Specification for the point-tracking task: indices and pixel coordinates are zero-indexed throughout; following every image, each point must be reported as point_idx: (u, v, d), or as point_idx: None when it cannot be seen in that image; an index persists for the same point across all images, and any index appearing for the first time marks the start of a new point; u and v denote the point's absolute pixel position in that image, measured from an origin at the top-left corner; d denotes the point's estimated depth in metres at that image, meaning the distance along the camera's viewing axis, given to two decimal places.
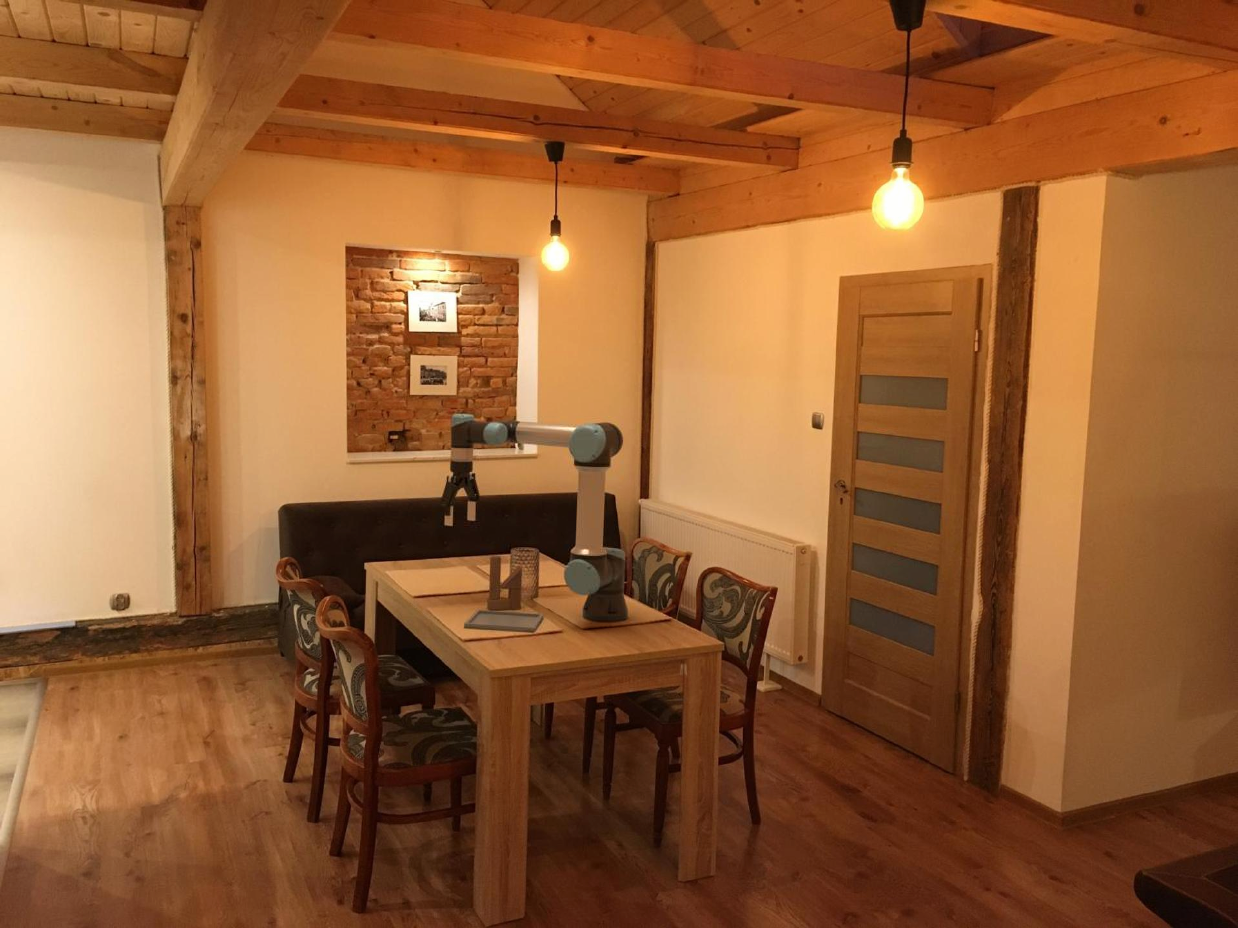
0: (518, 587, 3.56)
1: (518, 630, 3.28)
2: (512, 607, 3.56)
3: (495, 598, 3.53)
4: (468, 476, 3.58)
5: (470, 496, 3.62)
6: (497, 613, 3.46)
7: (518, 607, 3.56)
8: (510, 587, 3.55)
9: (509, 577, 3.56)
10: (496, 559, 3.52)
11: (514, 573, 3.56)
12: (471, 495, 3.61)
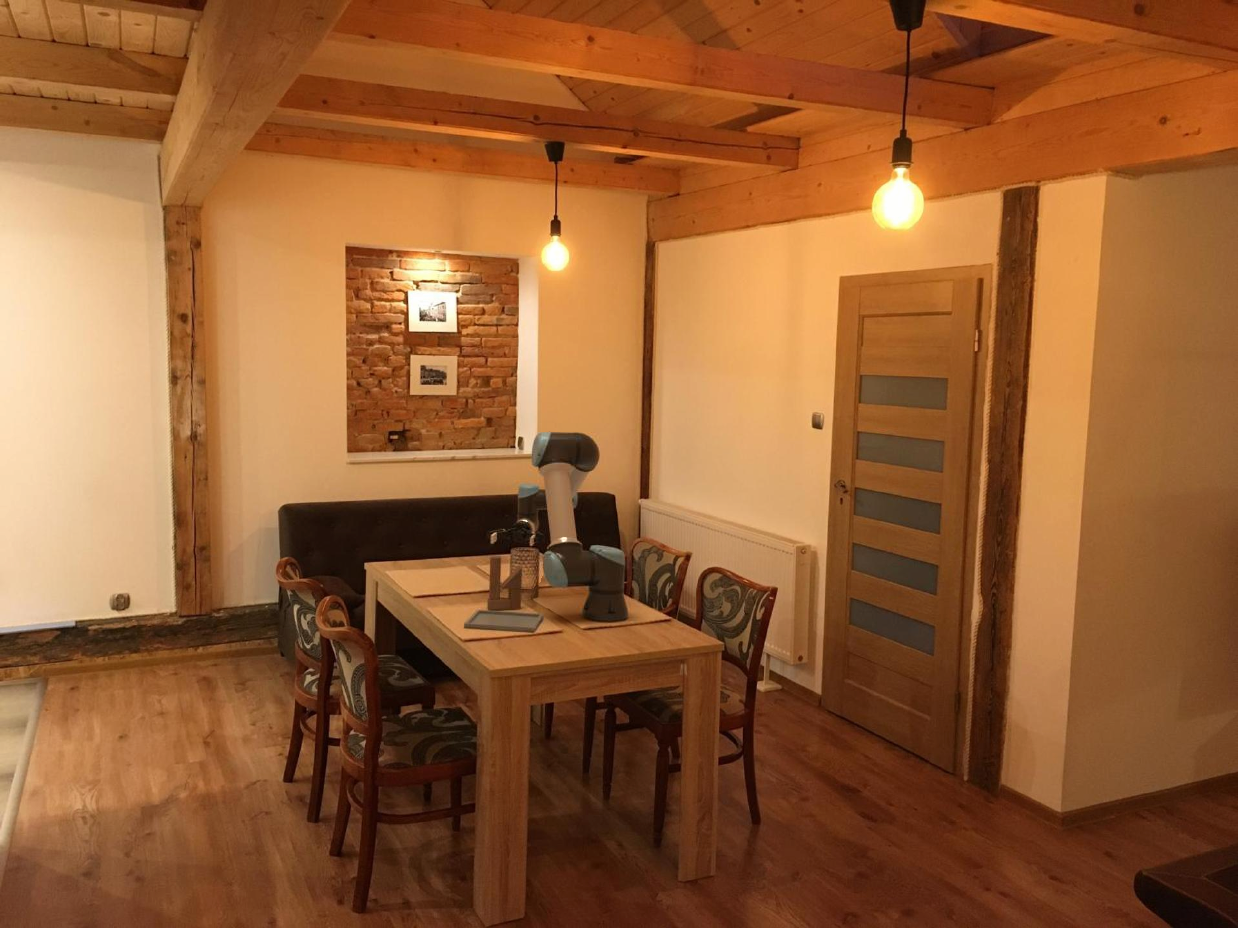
0: (518, 587, 3.56)
1: (518, 630, 3.28)
2: (512, 607, 3.56)
3: (495, 598, 3.53)
4: None
5: (532, 537, 3.72)
6: (497, 613, 3.46)
7: (518, 607, 3.56)
8: (510, 587, 3.55)
9: (509, 577, 3.56)
10: (496, 559, 3.52)
11: (514, 573, 3.56)
12: (532, 535, 3.72)
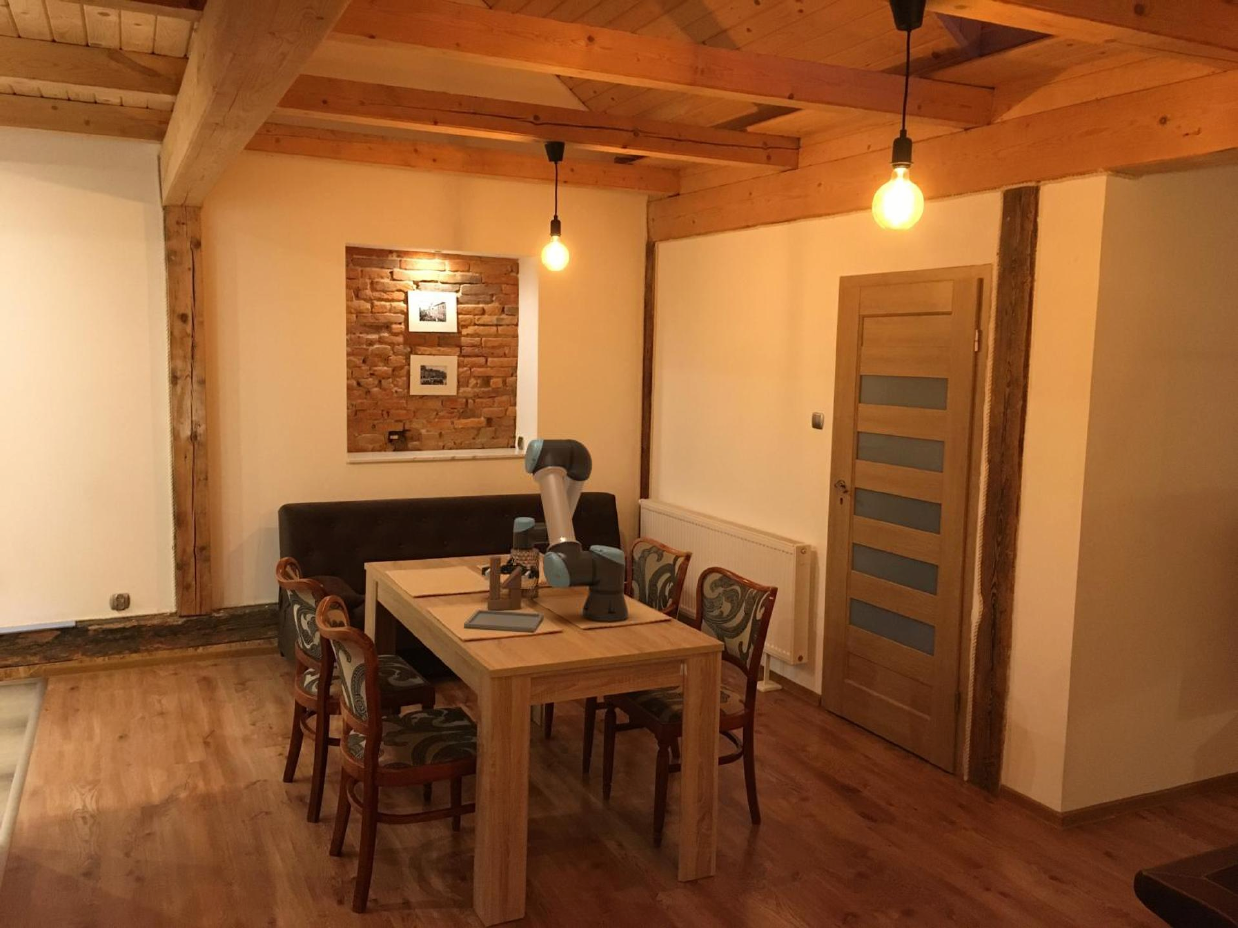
0: (518, 587, 3.56)
1: (518, 630, 3.28)
2: (512, 607, 3.56)
3: (495, 598, 3.53)
4: None
5: (527, 573, 3.67)
6: (497, 613, 3.46)
7: (518, 607, 3.56)
8: (510, 587, 3.55)
9: (509, 577, 3.56)
10: (496, 559, 3.52)
11: (514, 573, 3.56)
12: (527, 571, 3.67)
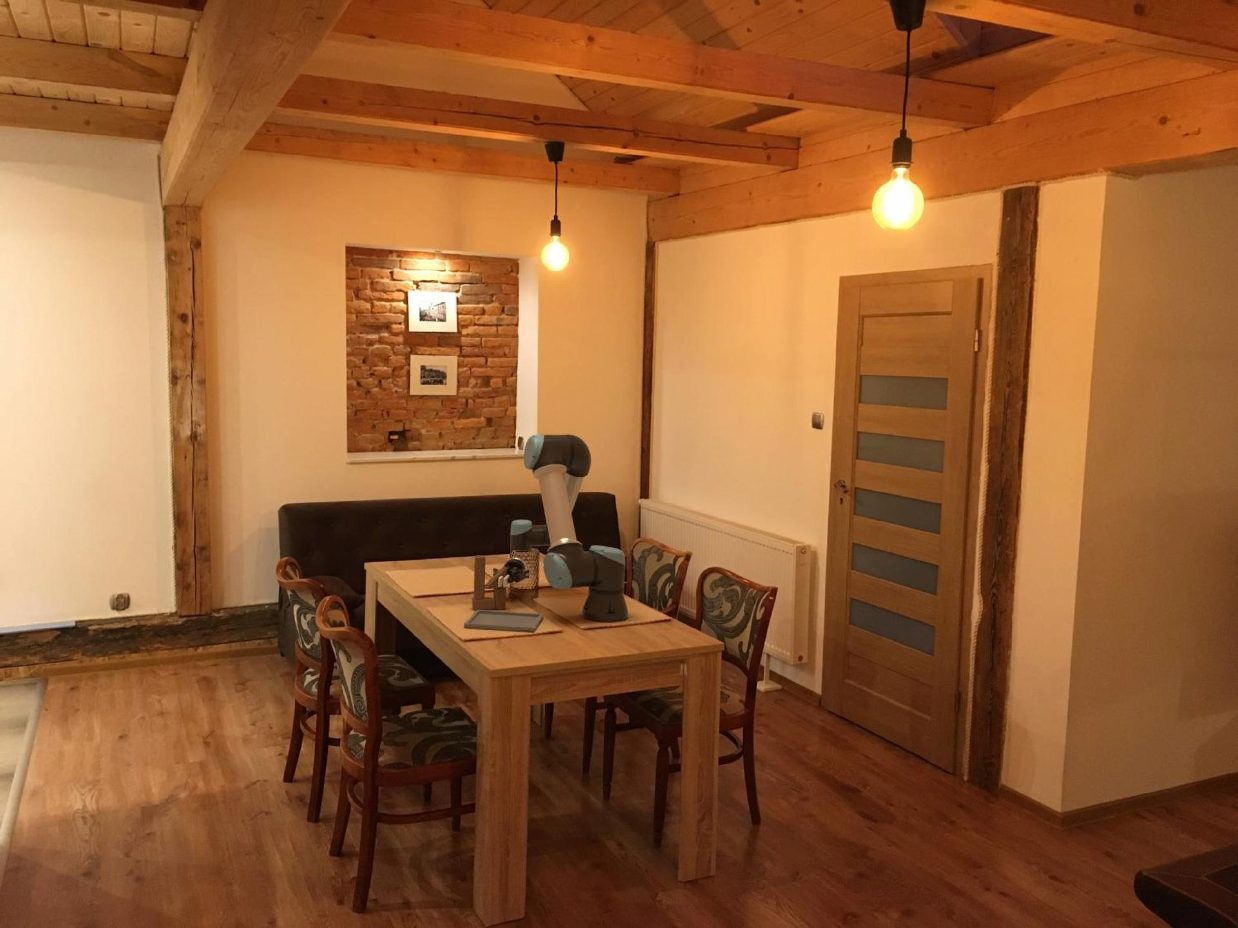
0: (503, 587, 3.55)
1: (518, 630, 3.28)
2: (497, 607, 3.55)
3: (479, 598, 3.52)
4: (519, 569, 3.67)
5: None
6: (497, 613, 3.46)
7: (503, 607, 3.55)
8: (495, 587, 3.54)
9: (494, 577, 3.55)
10: (480, 559, 3.51)
11: (499, 573, 3.55)
12: None
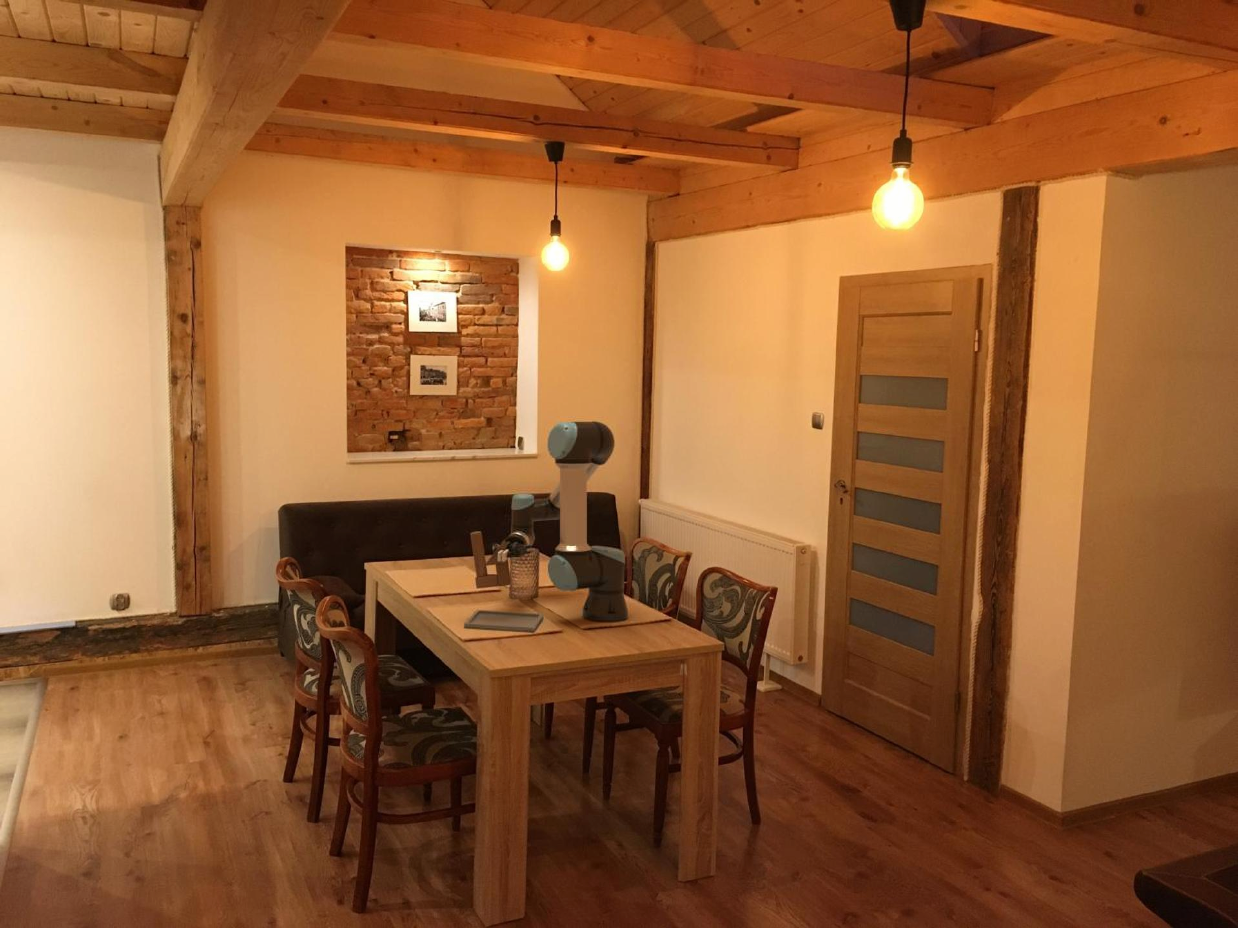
0: (502, 562, 3.37)
1: (518, 630, 3.28)
2: (499, 584, 3.38)
3: (480, 575, 3.38)
4: (520, 544, 3.49)
5: None
6: (497, 613, 3.46)
7: (506, 583, 3.38)
8: (493, 563, 3.37)
9: None
10: (474, 535, 3.37)
11: None
12: None
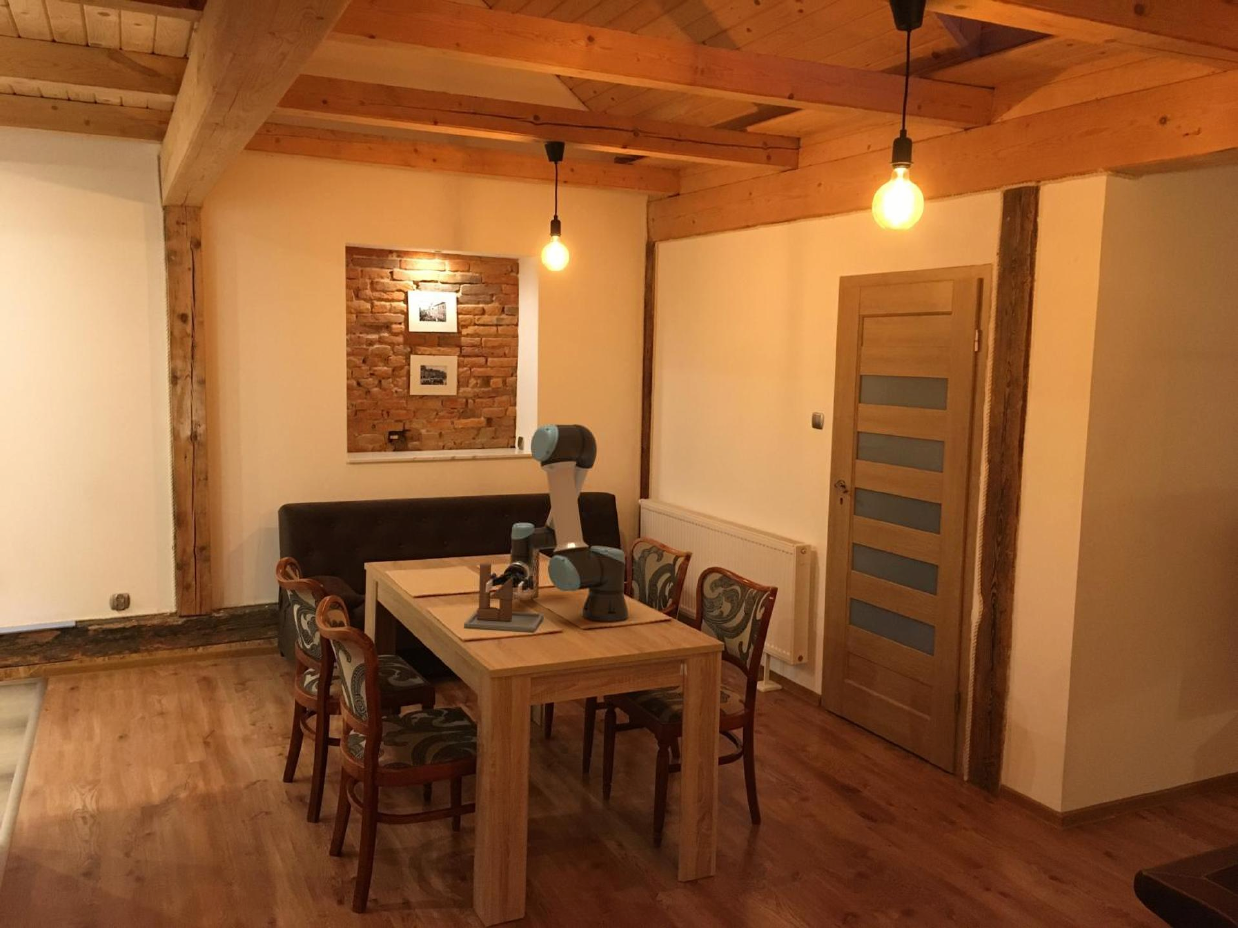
0: (507, 598, 3.36)
1: (518, 630, 3.28)
2: (500, 619, 3.37)
3: (482, 607, 3.38)
4: (521, 575, 3.48)
5: None
6: None
7: (507, 619, 3.37)
8: (498, 597, 3.37)
9: None
10: (483, 566, 3.36)
11: None
12: (521, 581, 3.41)
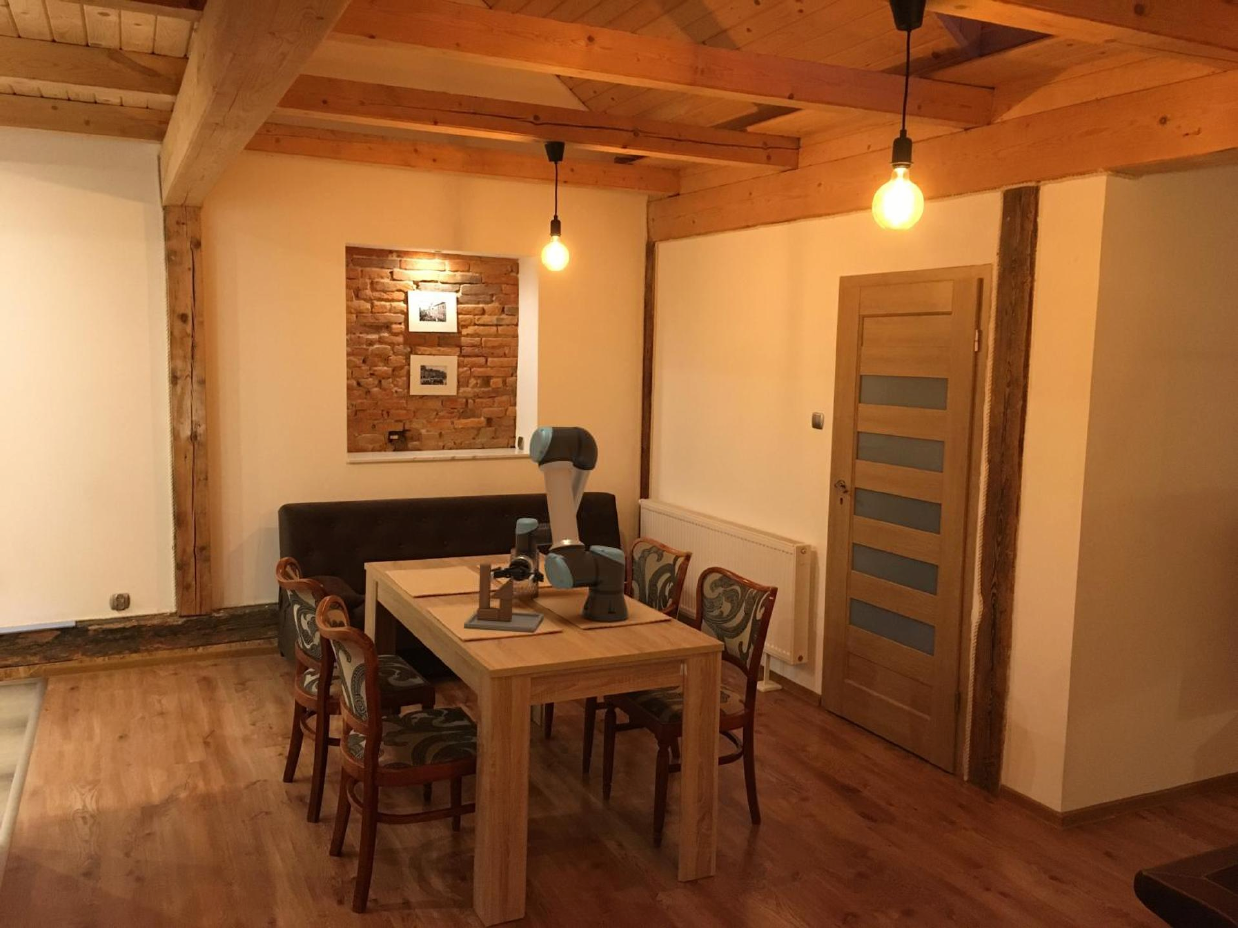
0: (507, 598, 3.36)
1: (518, 630, 3.28)
2: (500, 619, 3.37)
3: (482, 607, 3.38)
4: (525, 569, 3.58)
5: None
6: None
7: (507, 619, 3.37)
8: (498, 597, 3.37)
9: None
10: (483, 566, 3.36)
11: None
12: (530, 575, 3.52)
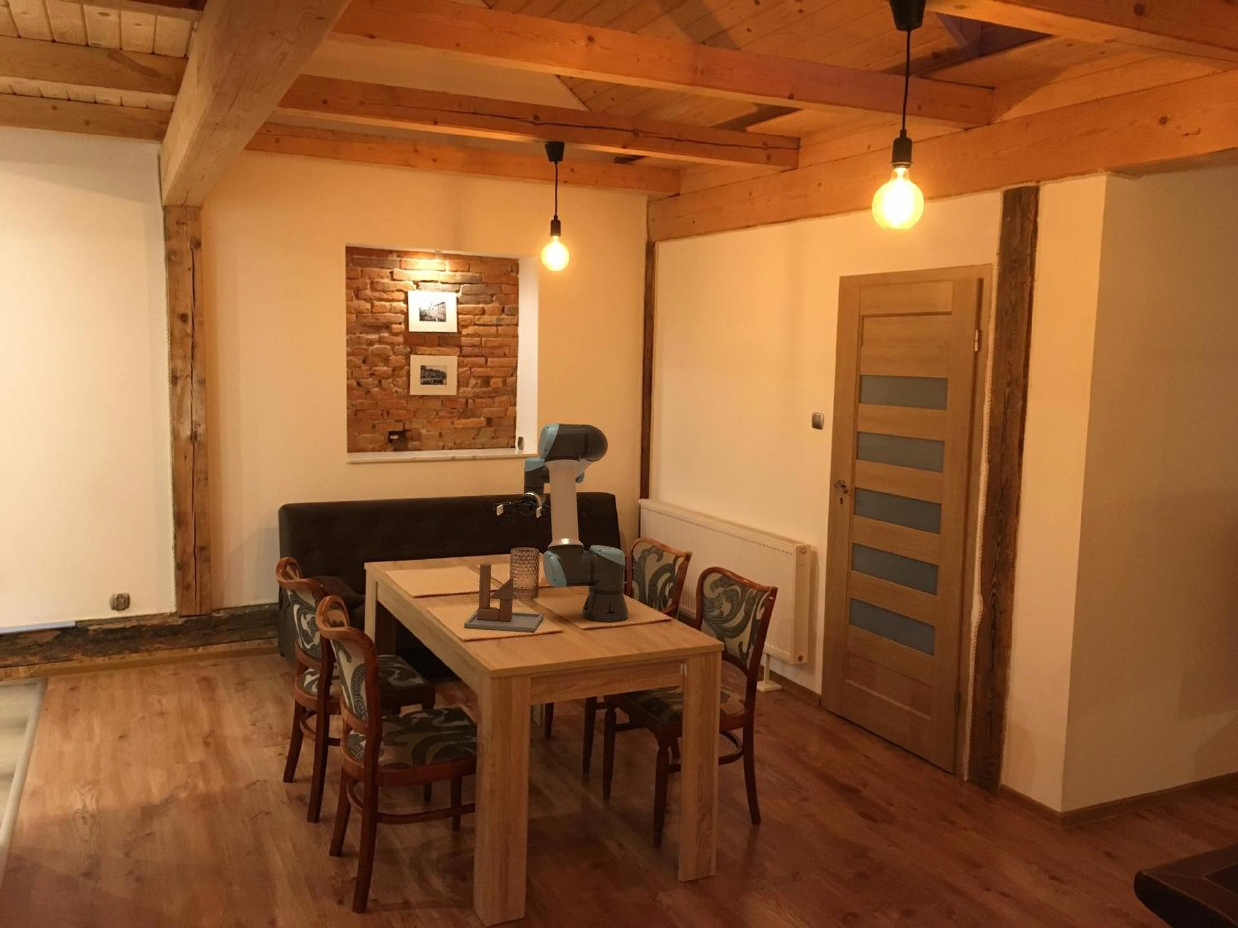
0: (507, 598, 3.36)
1: (518, 630, 3.28)
2: (500, 619, 3.37)
3: (482, 607, 3.38)
4: None
5: None
6: None
7: (507, 619, 3.37)
8: (498, 597, 3.37)
9: None
10: (483, 566, 3.36)
11: None
12: (538, 507, 3.68)
